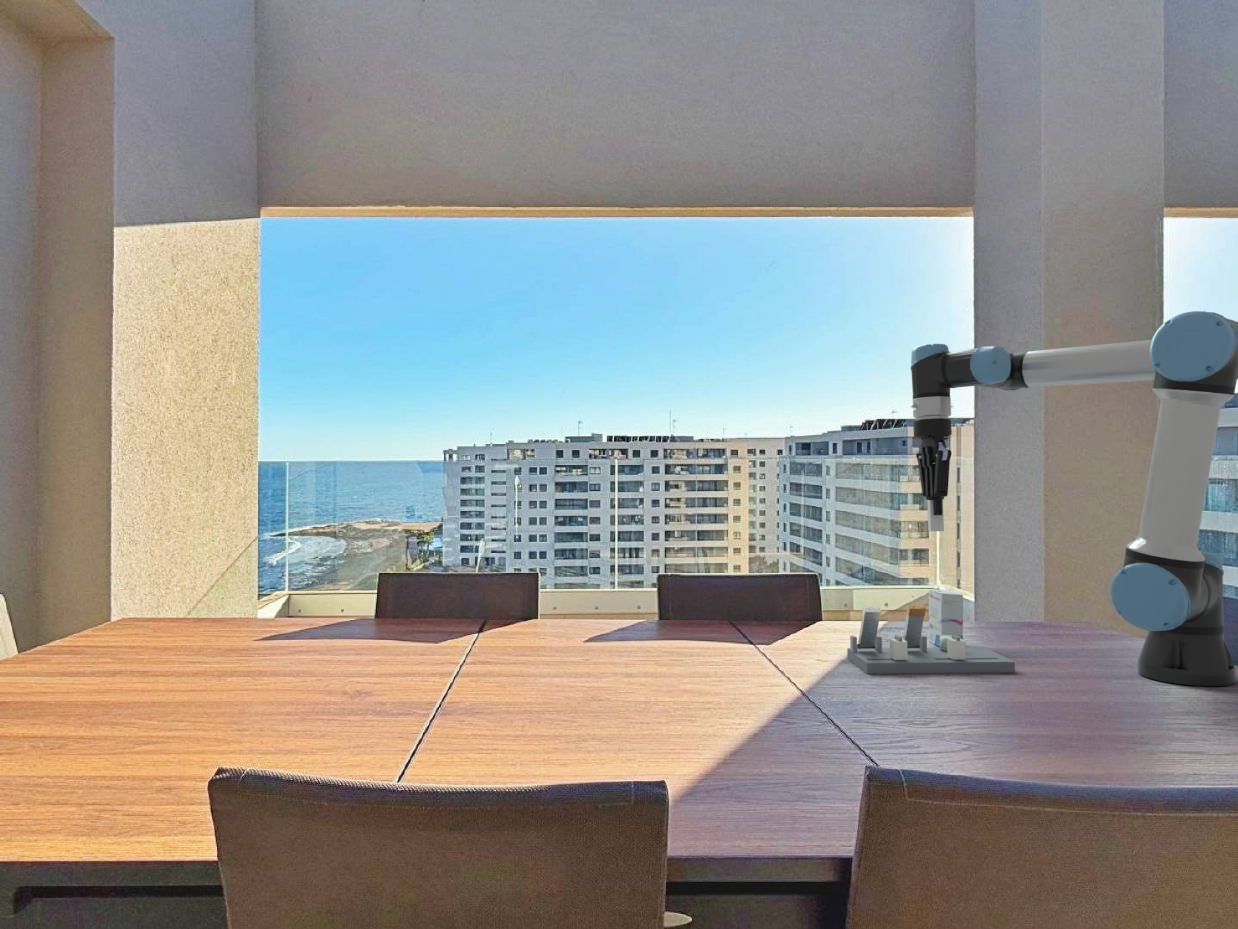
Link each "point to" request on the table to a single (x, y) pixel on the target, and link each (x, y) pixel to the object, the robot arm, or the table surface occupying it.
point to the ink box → (945, 614)
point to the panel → (926, 660)
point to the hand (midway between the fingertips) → (936, 531)
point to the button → (944, 641)
